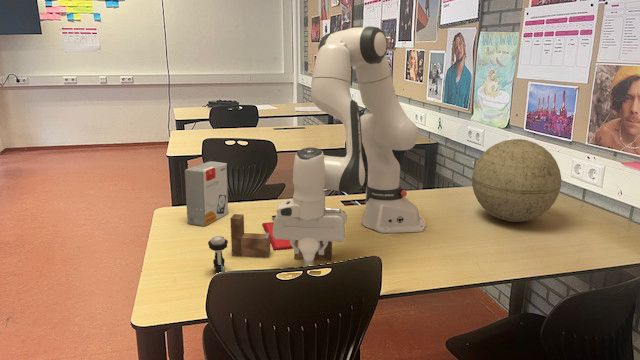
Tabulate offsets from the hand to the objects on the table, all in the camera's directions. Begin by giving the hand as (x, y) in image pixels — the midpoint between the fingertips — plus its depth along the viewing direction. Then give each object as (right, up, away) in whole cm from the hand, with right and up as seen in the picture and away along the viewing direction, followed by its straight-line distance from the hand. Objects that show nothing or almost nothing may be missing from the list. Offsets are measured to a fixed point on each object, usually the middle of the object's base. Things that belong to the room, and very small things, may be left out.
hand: (308, 253), depth 136 cm
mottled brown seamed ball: (+74, +6, +43) cm, 86 cm away
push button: (-25, -5, -1) cm, 26 cm away
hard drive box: (-38, +6, +40) cm, 55 cm away
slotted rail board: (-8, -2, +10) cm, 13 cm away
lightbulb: (0, -5, +1) cm, 5 cm away
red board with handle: (-8, +3, +29) cm, 30 cm away
